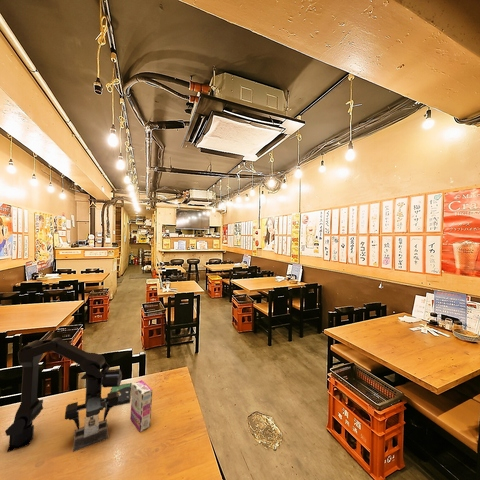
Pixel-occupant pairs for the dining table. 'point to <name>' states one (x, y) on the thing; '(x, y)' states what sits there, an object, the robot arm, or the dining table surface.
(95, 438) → the stand
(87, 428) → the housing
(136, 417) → the candy bar box
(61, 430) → the dining table surface
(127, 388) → the disk drive
